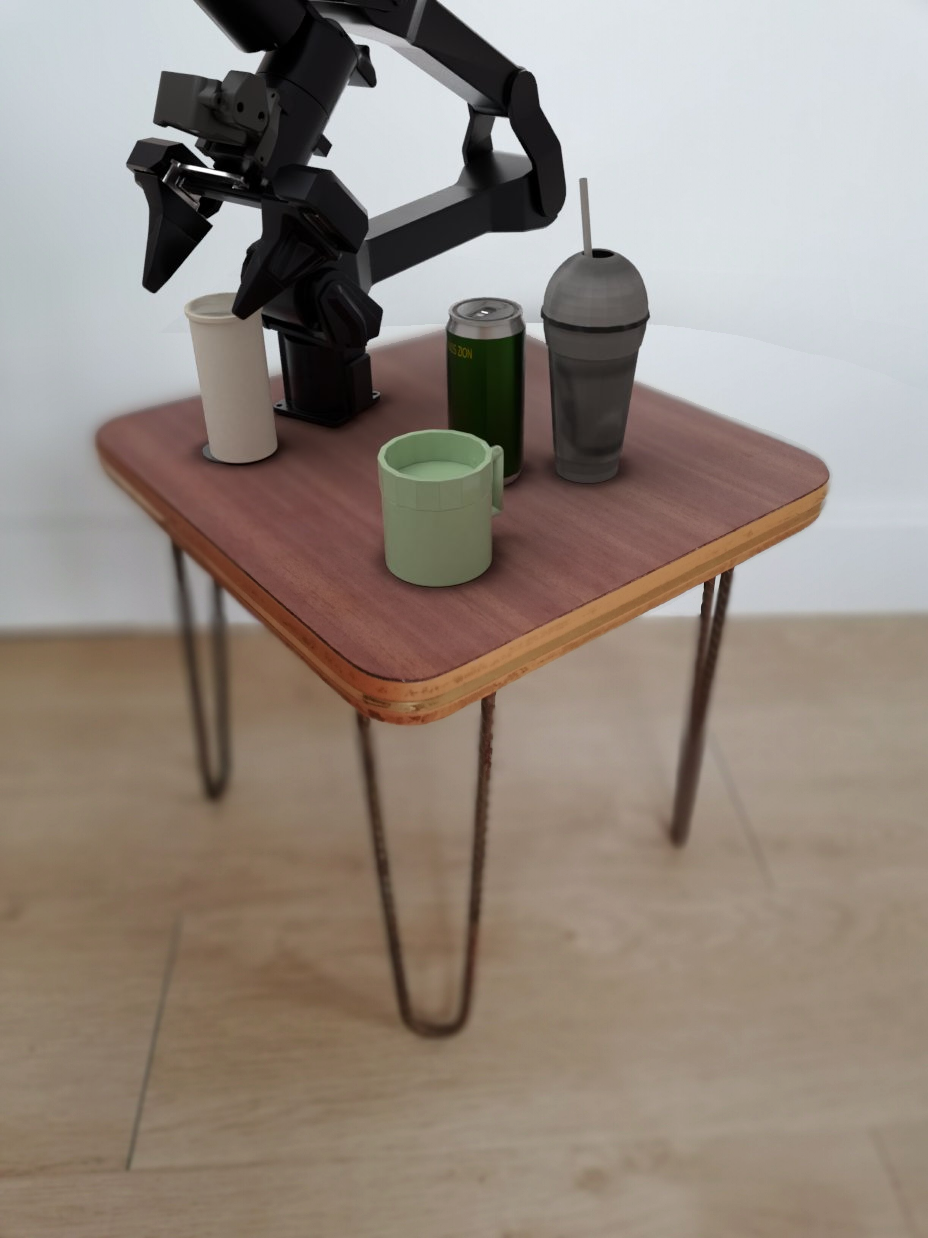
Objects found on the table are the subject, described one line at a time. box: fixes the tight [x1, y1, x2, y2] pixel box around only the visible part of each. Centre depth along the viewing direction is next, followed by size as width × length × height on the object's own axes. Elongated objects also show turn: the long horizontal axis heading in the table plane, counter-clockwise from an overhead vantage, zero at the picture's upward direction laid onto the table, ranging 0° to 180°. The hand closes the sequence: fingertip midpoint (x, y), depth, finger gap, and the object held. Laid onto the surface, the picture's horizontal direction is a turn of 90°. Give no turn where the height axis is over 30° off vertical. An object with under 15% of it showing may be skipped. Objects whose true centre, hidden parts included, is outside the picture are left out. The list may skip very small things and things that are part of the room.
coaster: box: [202, 443, 230, 464], centre depth 82 cm, size 4×4×1 cm
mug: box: [377, 429, 504, 588], centre depth 67 cm, size 9×7×7 cm
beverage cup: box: [540, 177, 651, 484], centre depth 73 cm, size 7×7×20 cm
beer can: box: [444, 296, 527, 487], centre depth 75 cm, size 5×5×12 cm
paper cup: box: [183, 291, 278, 464], centre depth 79 cm, size 5×5×11 cm
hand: (191, 302), depth 74 cm, fingers open, 9 cm apart
